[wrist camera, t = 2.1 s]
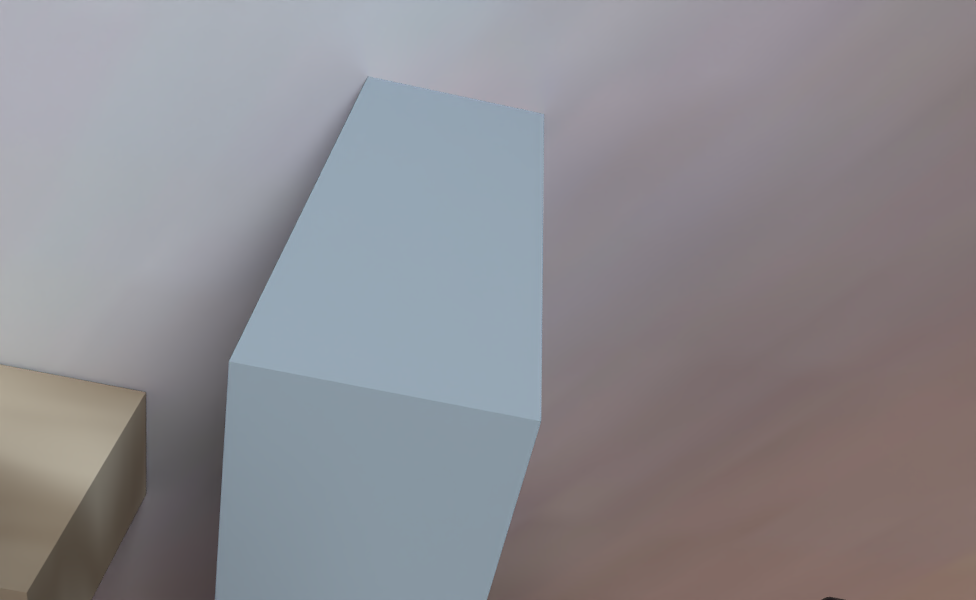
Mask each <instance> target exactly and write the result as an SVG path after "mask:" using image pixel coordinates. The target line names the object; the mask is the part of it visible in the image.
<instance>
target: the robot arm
mask: <svg viewBox="0 0 976 600" xmlns="http://www.w3.org/2000/svg"><path fill="white" fill-rule="evenodd" d="M822 600H844V599H839V598H833V597H826V598H824V599H822Z"/></svg>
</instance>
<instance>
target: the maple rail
mask: <svg viewBox="0 0 976 600" xmlns="http://www.w3.org/2000/svg"><path fill="white" fill-rule="evenodd" d="M145 495H146V392H142V391H136V390H131V389H126V388H121V387H115V386H110V385H105V384H100V383H94V382H89V381H84V380H79V379H74V378H68V377H63V376H58V375H53V374H47V373H42V372H37V371H32V370H26V369H21V368H16V367H11V366H5V365H0V600H92V598H93V596H94V594H95V592H96V590H97V588H98V586H99V584H100V582H101V580H102V578H103V576H104V574H105V573H106V571H107V569H108V567H109V565H110V563H111V561H112V559H113V557H114V555H115V553H116V551H117V549H118V547H119V545H120V544H121V542H122V540H123V538H124V536H125V534H126V532H127V530H128V528H129V526H130V524H131V522H132V520H133V518H134V516H135V514H136V513H137V511H138V509H139V507H140V505H141V503H142V501H143V499H144V497H145Z"/></svg>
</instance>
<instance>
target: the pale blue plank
mask: <svg viewBox="0 0 976 600" xmlns="http://www.w3.org/2000/svg"><path fill="white" fill-rule="evenodd" d="M543 171H544V114H541V113H537V112H532V111H527V110H523V109H518V108H513V107H509V106H504V105H499V104H495V103H490V102H485V101H481V100H476V99H471V98H467V97H462V96H457V95H453V94H448V93H443V92H439V91H434V90H429V89H425V88H420V87H415V86H411V85H406V84H401V83H397V82H392V81H387V80H383V79H378V78H373V77H369V76H368V78H367V80H366V82H365V84H364V86H363V88H362V90H361V92H360V94H359V96H358V98H357V100H356V102H355V104H354V106H353V108H352V111H351V113H350V115H349V117H348V119H347V121H346V123H345V125H344V127H343V129H342V131H341V133H340V135H339V137H338V139H337V141H336V143H335V145H334V147H333V149H332V151H331V154H330V156H329V158H328V160H327V162H326V164H325V166H324V168H323V170H322V172H321V174H320V176H319V178H318V180H317V182H316V184H315V186H314V188H313V190H312V192H311V194H310V196H309V199H308V201H307V203H306V205H305V207H304V209H303V211H302V213H301V215H300V217H299V219H298V221H297V223H296V225H295V227H294V229H293V231H292V233H291V235H290V237H289V239H288V242H287V244H286V246H285V248H284V250H283V252H282V254H281V256H280V258H279V260H278V262H277V264H276V266H275V268H274V270H273V272H272V274H271V276H270V278H269V280H268V282H267V285H266V287H265V289H264V291H263V293H262V295H261V297H260V299H259V301H258V303H257V305H256V307H255V309H254V311H253V313H252V315H251V317H250V319H249V321H248V323H247V325H246V327H245V330H244V332H243V334H242V336H241V338H240V340H239V342H238V344H237V346H236V348H235V350H234V352H233V354H232V356H231V358H230V360H229V369H228V386H227V403H226V420H225V437H224V454H223V471H222V488H221V505H220V522H219V539H218V556H217V573H216V590H215V600H487V597H488V594H489V591H490V587H491V584H492V581H493V578H494V574H495V571H496V568H497V564H498V561H499V558H500V555H501V551H502V548H503V545H504V541H505V538H506V535H507V532H508V528H509V525H510V522H511V518H512V515H513V512H514V509H515V505H516V502H517V499H518V495H519V492H520V489H521V486H522V482H523V479H524V476H525V472H526V469H527V466H528V463H529V459H530V456H531V453H532V449H533V446H534V443H535V440H536V436H537V433H538V430H539V427H540V423H541V379H542V275H543Z"/></svg>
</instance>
